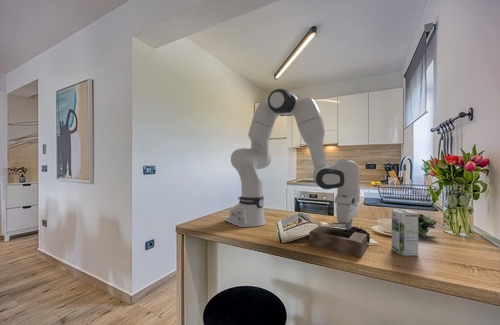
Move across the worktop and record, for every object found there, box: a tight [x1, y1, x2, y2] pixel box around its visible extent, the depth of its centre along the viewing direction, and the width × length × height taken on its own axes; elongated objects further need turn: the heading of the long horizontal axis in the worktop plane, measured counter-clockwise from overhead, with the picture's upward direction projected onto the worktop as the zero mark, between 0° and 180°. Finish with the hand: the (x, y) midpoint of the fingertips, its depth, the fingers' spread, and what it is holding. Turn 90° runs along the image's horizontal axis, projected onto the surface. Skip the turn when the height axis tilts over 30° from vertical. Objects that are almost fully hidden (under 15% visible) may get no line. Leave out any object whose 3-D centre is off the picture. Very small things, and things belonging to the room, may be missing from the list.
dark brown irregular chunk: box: [323, 225, 371, 244], centre depth 88 cm, size 18×7×6 cm, turn 52°
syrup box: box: [391, 208, 419, 257], centre depth 75 cm, size 6×6×14 cm
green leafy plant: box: [418, 213, 437, 240], centre depth 91 cm, size 11×11×12 cm
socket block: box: [308, 225, 368, 258], centre depth 81 cm, size 18×10×5 cm, turn 52°
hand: (348, 229), depth 93 cm, fingers closed
